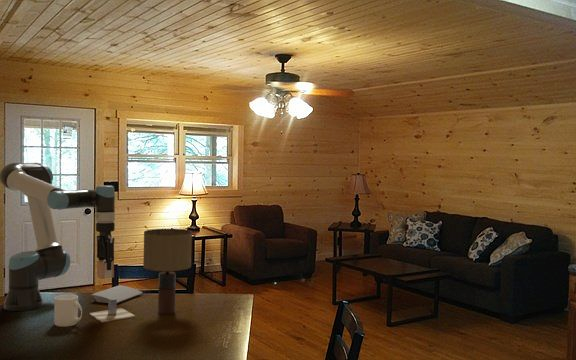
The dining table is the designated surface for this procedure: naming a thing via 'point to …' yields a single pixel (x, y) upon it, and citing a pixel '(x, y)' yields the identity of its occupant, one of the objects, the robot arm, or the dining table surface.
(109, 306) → the post
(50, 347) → the dining table surface
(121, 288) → the book
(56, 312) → the mug
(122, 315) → the board
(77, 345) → the dining table surface
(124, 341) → the dining table surface
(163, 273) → the lamp
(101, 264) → the pink rectangular block
